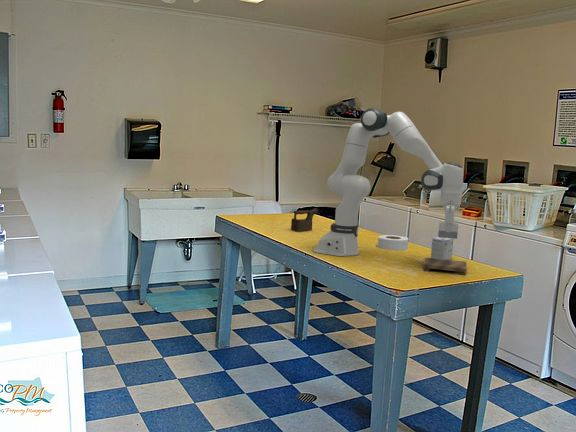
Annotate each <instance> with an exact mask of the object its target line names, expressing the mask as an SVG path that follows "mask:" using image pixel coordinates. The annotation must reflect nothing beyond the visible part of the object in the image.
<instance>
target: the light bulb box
mask: <svg viewBox="0 0 576 432" xmlns="http://www.w3.org/2000/svg"><path fill="white" fill-rule="evenodd" d="M453 248H454V238H443V237H438V236H435V237H432V239H431V253H430V258H434V259H444V260H452V259H453Z"/></svg>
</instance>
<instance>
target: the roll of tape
mask: <svg viewBox="0 0 576 432" xmlns="http://www.w3.org/2000/svg"><path fill="white" fill-rule="evenodd" d="M377 240H378V241H377V247H378V248H379V249H382V250H387V251H406V250H408V249H409V238H408V237H406V236H401V235H396V234H395V235H394V234H393V235H392V234H382V235H378V237H377Z"/></svg>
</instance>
